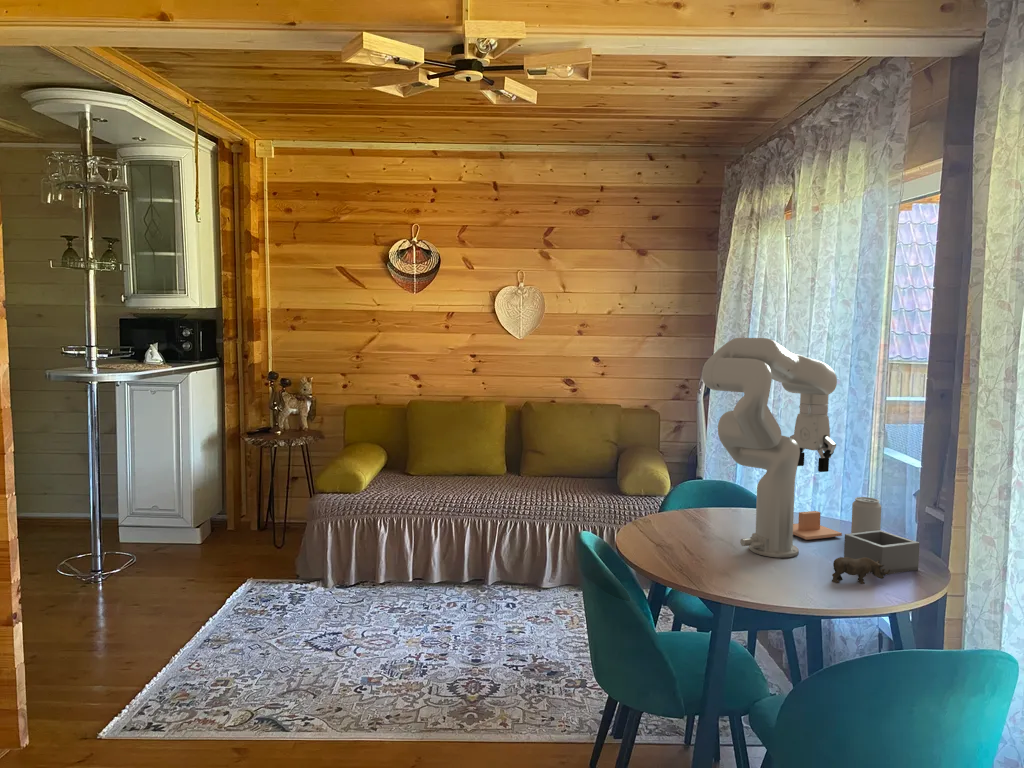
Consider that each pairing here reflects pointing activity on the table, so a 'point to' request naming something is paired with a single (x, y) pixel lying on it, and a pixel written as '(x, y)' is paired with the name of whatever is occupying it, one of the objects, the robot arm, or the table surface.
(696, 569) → the table surface
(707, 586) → the table surface
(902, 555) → the tub
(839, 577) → the rhino figurine
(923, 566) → the table surface
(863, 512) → the can
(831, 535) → the lid
